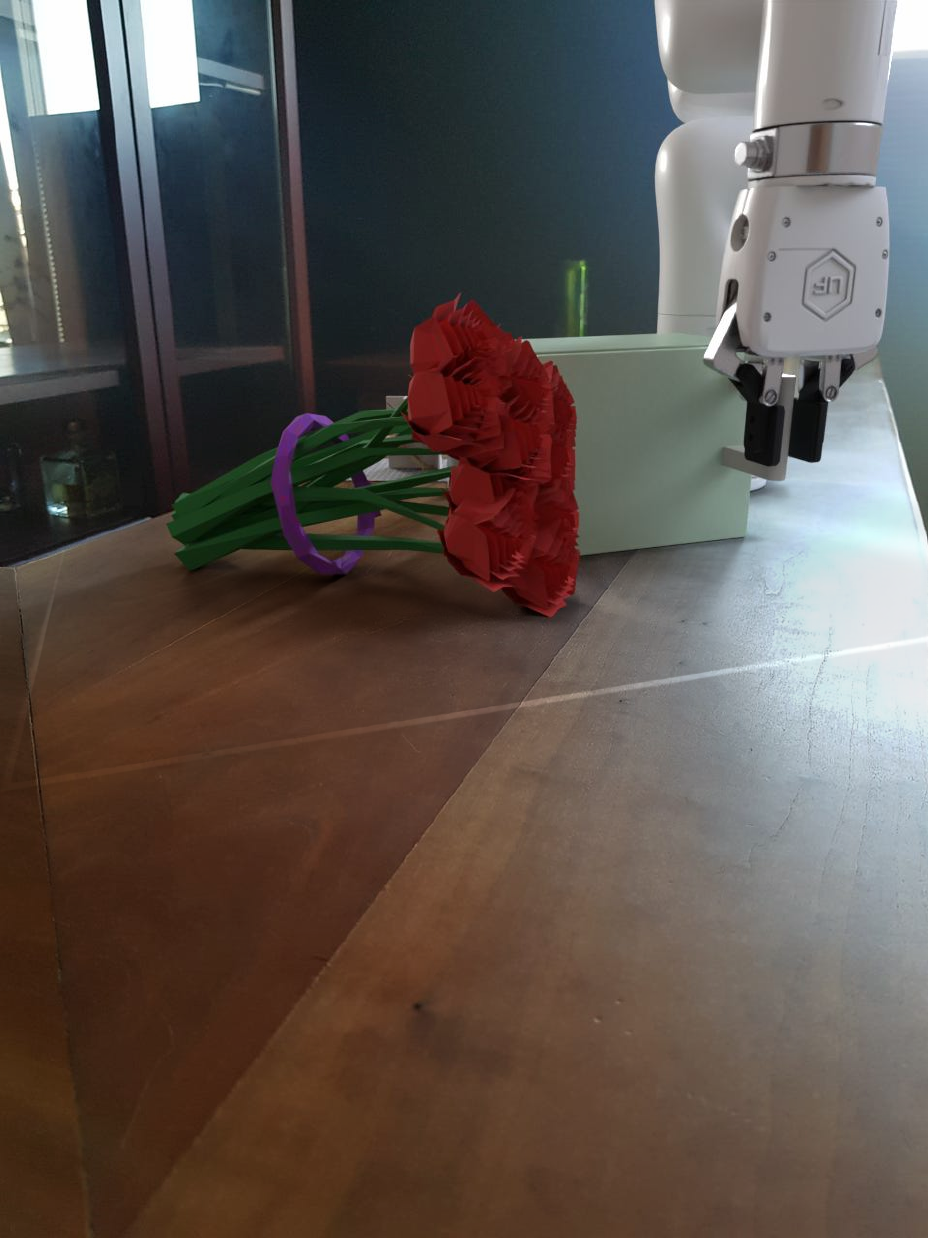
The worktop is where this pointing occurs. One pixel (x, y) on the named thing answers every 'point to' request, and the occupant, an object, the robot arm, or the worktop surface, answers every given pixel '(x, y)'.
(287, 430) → the bouquet
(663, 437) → the door
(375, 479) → the architectural model
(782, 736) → the worktop surface
